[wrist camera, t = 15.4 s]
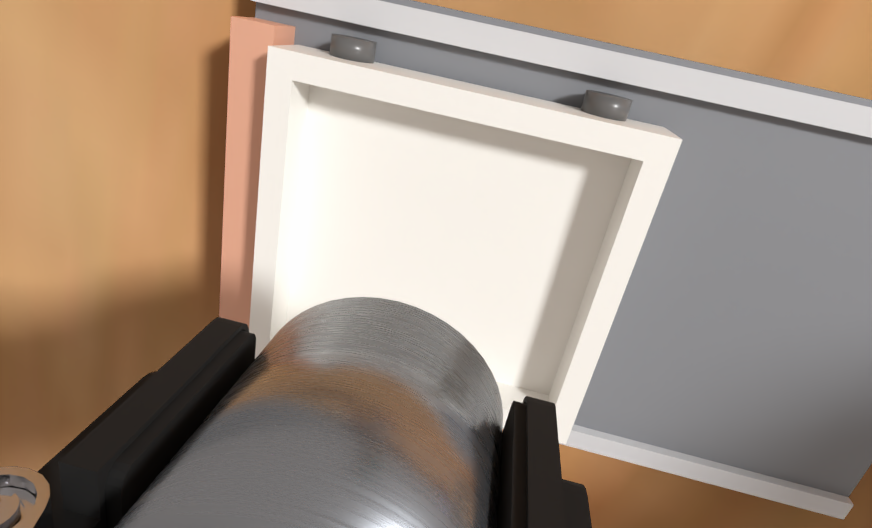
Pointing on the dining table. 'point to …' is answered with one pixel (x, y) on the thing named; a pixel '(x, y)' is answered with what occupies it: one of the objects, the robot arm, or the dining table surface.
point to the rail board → (660, 243)
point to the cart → (454, 210)
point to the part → (343, 431)
